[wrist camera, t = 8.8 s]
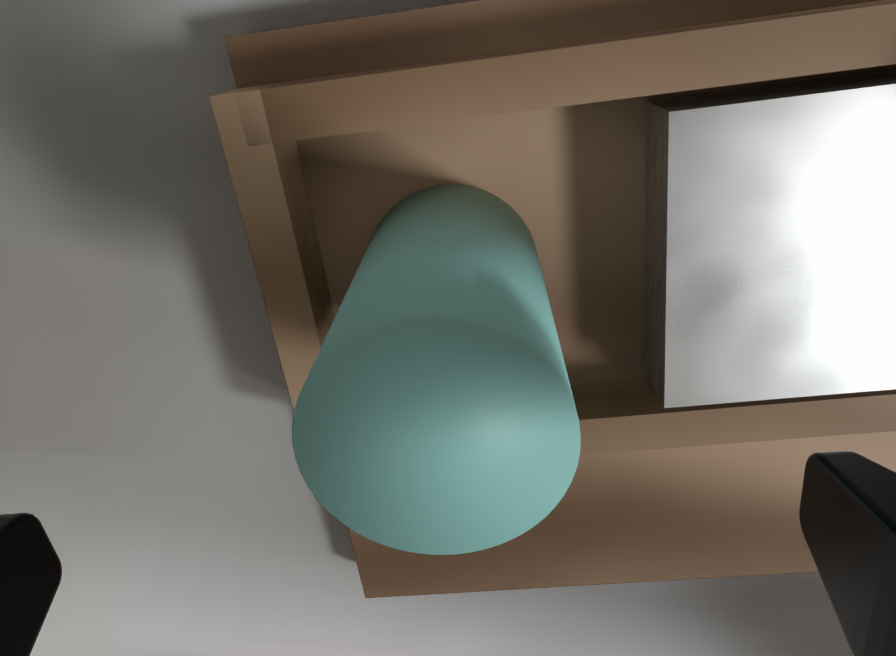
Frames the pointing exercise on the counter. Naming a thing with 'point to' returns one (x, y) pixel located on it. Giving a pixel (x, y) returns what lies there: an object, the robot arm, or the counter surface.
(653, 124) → the cover slide
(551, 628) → the counter surface
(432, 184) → the housing board
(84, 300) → the counter surface
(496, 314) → the teal peg
